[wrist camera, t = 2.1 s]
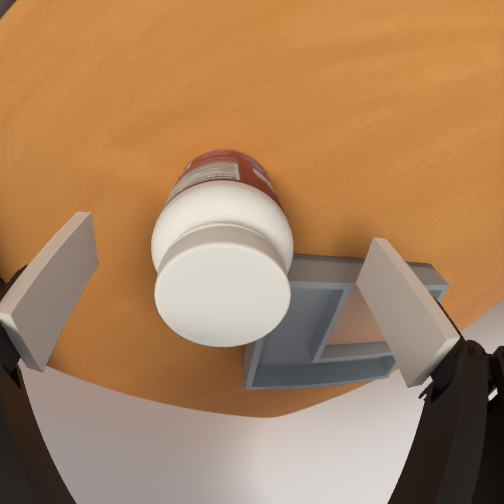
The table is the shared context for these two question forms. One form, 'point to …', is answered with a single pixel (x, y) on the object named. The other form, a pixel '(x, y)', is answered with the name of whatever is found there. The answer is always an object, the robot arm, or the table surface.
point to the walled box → (326, 329)
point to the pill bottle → (222, 252)
